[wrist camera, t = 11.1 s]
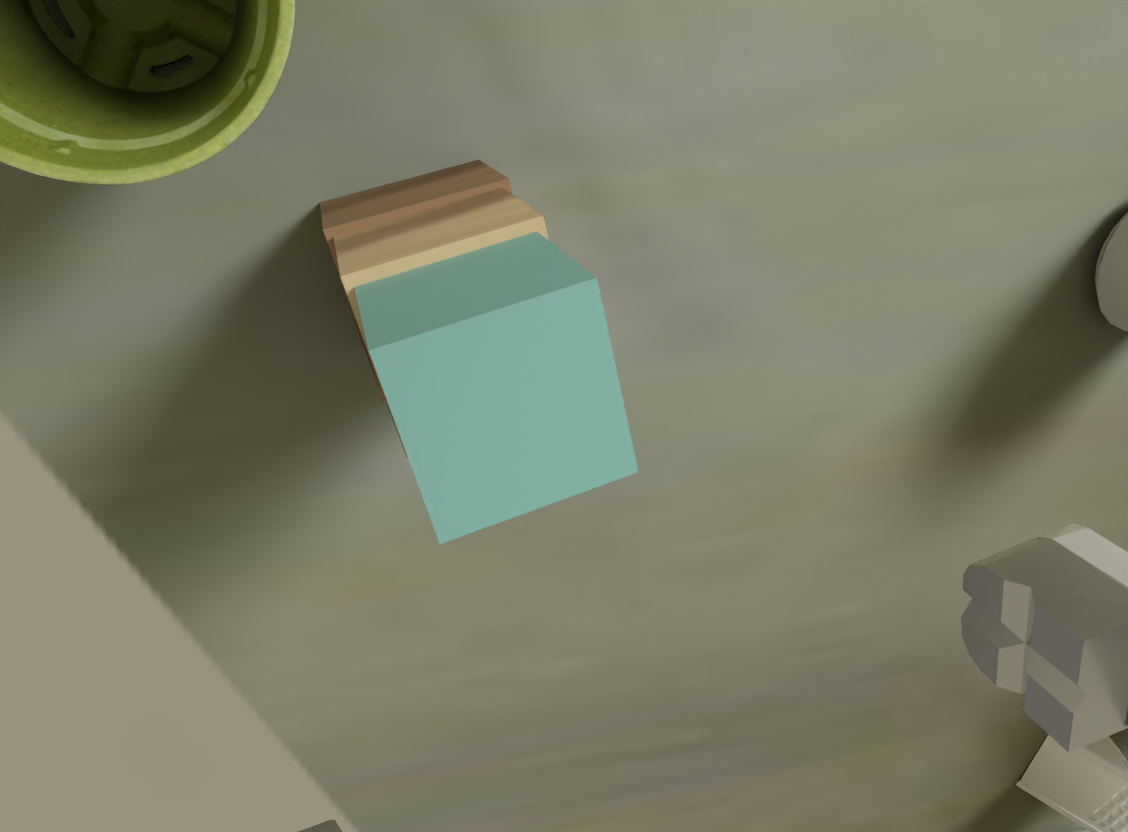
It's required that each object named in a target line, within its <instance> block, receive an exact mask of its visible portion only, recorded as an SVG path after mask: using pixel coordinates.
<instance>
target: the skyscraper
mask: <svg viewBox="0 0 1128 832" xmlns="http://www.w3.org/2000/svg"><path fill="white" fill-rule="evenodd" d="M1016 785H1017V786H1018V787H1020V788H1021V789H1023V790H1025V791H1026V792H1028V793H1029V794H1031V795H1032V796H1034V797H1036V798H1037V799H1039V800H1040V801H1042V802H1044V803H1045V804H1047V805H1048V806H1050V807H1051V808H1053V809H1055V810H1056V811H1058V812H1059V813H1061V814H1063V815H1064V816H1066V817H1067V818H1069V819H1070V820H1072V821H1074V822H1075V823H1077V824H1078V825H1080V826H1081V827H1083V828H1085V829H1086V830H1088V831H1089V832H1128V760H1127V759H1126V758H1125V756H1124V755H1123V754H1122V752H1121V751H1120V750H1119V749H1118V747H1117V746H1116V745H1115V743H1114V742H1113V741H1112V739H1111V738H1110V737H1109V736H1107V737H1105V738H1103V739H1100V740H1098V741H1095V742H1093V743H1091V744H1088V745H1086V746H1083V747H1081V748H1078V749H1076V750H1074V751H1071V752H1069V753H1068V752H1067V751H1066V750H1065V749H1064V748H1063V747H1062V746H1061V745H1060V744H1059V743H1058V742H1056V741H1055V740H1054V739H1053V738H1052V737H1051V736H1050V735H1049V734H1048V736H1047V738H1046V739H1045V741H1044V743H1043V744H1042V746H1041V747H1040V749H1039V751H1038V752H1037V754H1036V756H1035V757H1034V759H1033V760H1032V762H1031V764H1030V765H1029V767H1028V769H1027V770H1026V772H1025V773H1024V775H1023V777H1022V778H1021V780H1020V781H1018V782H1017V784H1016Z"/></svg>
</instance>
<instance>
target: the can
mask: <svg viewBox="0 0 1128 832" xmlns="http://www.w3.org/2000/svg"><path fill="white" fill-rule="evenodd" d="M1095 284H1096V289H1097V296H1098V301H1099V306H1100V310H1101V312H1102V313H1103V315H1104V316H1105V317H1106V319H1107V320H1108V322H1109V323H1110V324H1112V325H1114V326H1116V327H1118V328H1120V329H1122V330H1124V331H1127V332H1128V212H1127V213H1126V214H1125V215H1124V216H1123V217H1122V218H1121V220H1120V221H1119V222H1118V223H1117V224H1116V225H1115V226H1114V227H1113V229H1112V231H1111V232H1110V234H1109V236H1108V237H1107V239H1106V241H1105V242H1104V244H1103V246H1102V249H1101V252H1100V255H1099V258H1098V261H1097V264H1096V274H1095Z"/></svg>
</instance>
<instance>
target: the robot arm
mask: <svg viewBox="0 0 1128 832" xmlns="http://www.w3.org/2000/svg"><path fill="white" fill-rule="evenodd" d="M963 590H964V591H965V592H966V593H967V594H968V595H969V596H970V597H971V598H972V600H971V601H970V603H969V604H968V606H967V608H966V609H965V611H964V613H963V614H962V616H961V621H962V638H963V640H964V643H965V645H966V648H967V650H968V652H969V655H970V657H971V658H972V660H973V661H974V662H975V664H976V665H977V666H978V668H979V669H980V671H981V672H982V673H983V674H984V675H985V676H987V677H988V678H989V679H990V680H991V681H992V682H993V683H994V684H995V685H996V686H998V687H1001V688H1004V689H1007V690H1010V691H1013V692H1016V693H1019V694H1021V698H1022V703H1023V708H1024V712H1025V713H1026V714H1027V715H1028V716H1029V717H1030V718H1031V719H1033V720H1034V721H1035V722H1036V723H1037V724H1038V725H1039V726H1040V727H1041V728H1042V729H1043V730H1044V731H1046V732H1047V733H1048V734H1049V735H1050V736H1051V737H1052V738H1053V739H1054V740H1055V741H1056V742H1058V743H1059V744H1060V745H1061V746H1062V747H1063V748H1064V749H1065V750H1066V751H1067V752H1068V753H1069V752H1071V751H1074V750H1076V749H1078V748H1081V747H1083V746H1086V745H1088V744H1091V743H1093V742H1095V741H1098V740H1100V739H1103V738H1105V737H1107V736H1110V735H1112V734H1115V733H1117V732H1119V731H1122V730H1124V729H1127V728H1128V552H1126V551H1125V550H1123V549H1121V548H1120V547H1118V546H1117V545H1115V544H1113V543H1112V542H1110V541H1108V540H1107V539H1105V538H1104V537H1102V536H1100V535H1099V534H1097V533H1095V532H1094V531H1092V530H1091V529H1089V528H1087V527H1085V526H1081V525H1077V524H1073V523H1072V524H1069V525H1067V526H1064V527H1062V528H1059V529H1057V530H1054V531H1052V532H1049V533H1047V534H1044V535H1042V536H1039V537H1037V538H1036V539H1030V540H1028V541H1026V542H1023V543H1021V544H1018V545H1016V546H1013V547H1011V548H1009V549H1006V550H1004V551H1001V552H999V553H996V554H994V555H992V556H989V557H987V558H984V559H982V560H980V561H977V562H975V563H972V564H970V565H969V566H968V568H967V569H966V571H965V573H964V574H963ZM299 832H342V831H341V829H340V827H339V826H338V824H337V823H336V821H335V820H329V821H326V822H323V823H321V824H318V825H315V826H313V827H310V828H307V829H305V830H302V831H299Z"/></svg>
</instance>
